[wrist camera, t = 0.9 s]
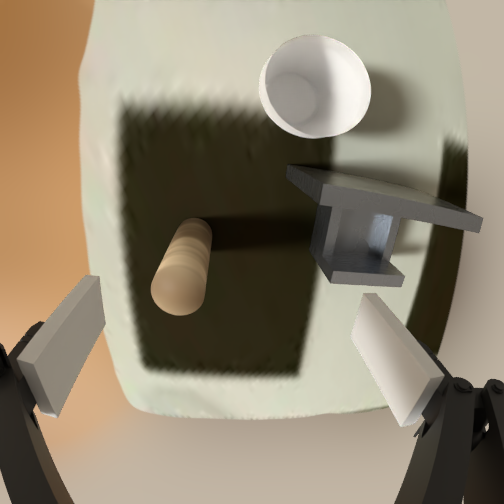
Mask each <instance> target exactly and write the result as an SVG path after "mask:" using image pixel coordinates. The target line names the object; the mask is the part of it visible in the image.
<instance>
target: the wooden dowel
mask: <svg viewBox="0 0 504 504" xmlns="http://www.w3.org/2000/svg"><path fill="white" fill-rule="evenodd" d="M211 243H212V230H211V228H210V226H209V225H208V224H207V223H206V222H205V221H204V220H202V219H199V218H189V219H187V220H185V221H183V222H182V223H181V224H180V225H179V227H178V229H177V231H176V233H175V235H174V237H173V239H172V241H171V243H170V245H169V247H168V249H167V251H166V254H165V256H164V258H163V260H162V262H161V264H160V266H159V268H158V270H157V273H156V275H155V277H154V279H153V281H152V285H151V294H152V297H153V299H154V301H155V303H156V304H157V305H158V306H159V307H160V308H161V309H162V310H164V311H166V312H168V313H170V314H174V315H187V314H190V313H192V312H194V311H196V310H197V309H198V308H199V307H200V306H201V305H202V303H203V300H204V296H205V288H206V280H207V272H208V265H209V257H210V250H211Z"/></svg>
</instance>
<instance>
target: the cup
mask: <svg viewBox="0 0 504 504" xmlns="http://www.w3.org/2000/svg"><path fill="white" fill-rule="evenodd" d="M259 94H260V99H261V102H262V105H263V107H264V110H265V112H266V113H267V115H268V116H269V117H270V118H271V119H272V120H273V121H274V122H275V123H276V124H277V125H278V126H279V127H281V128H282V129H284V130H285V131H287V132H289V133H291V134H294V135H297V136H300V137H305V138H323V137H330V136H336V135H339V134H342V133H345V132H347V131H349V130H350V129H352V128H353V127H354V126H356V125H357V124H358V123H359V122H360V121H361V119H362V118H363V117H364V115H365V113H366V111H367V109H368V106H369V103H370V98H371V84H370V79H369V76H368V73H367V70H366V68H365V66H364V64H363V63H362V61H361V60H360V58H359V57H358V56H357V55H356V54H355V53H354V52H353V51H352V50H351V49H350V48H349V47H347V46H346V45H345V44H343V43H341V42H339V41H338V40H335V39H333V38H330V37H327V36H322V35H303V36H299V37H296V38H293V39H291V40H289V41H287V42H285V43H284V44H283V45H281V46H280V47H279V48H278V49H277V50H276V51H275V52H274V53H273V54H272V55H271V56H270V57H269V59H268V60H267V61H266V63H265V64H264V66H263V69H262V71H261V74H260V79H259Z"/></svg>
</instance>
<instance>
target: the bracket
mask: <svg viewBox="0 0 504 504" xmlns="http://www.w3.org/2000/svg"><path fill="white" fill-rule="evenodd" d="M286 178H287V179H288V180H290V181H291V182H292V183H293V184H295V185H296V186H297V187H298V188H300V189H301V190H302V191H303V192H305V193H306V194H307V195H308V196H310V197H311V198H312V199H313V200H314V201H316V202H317V203H318V207H317V213H316V218H315V223H314V229H313V234H312V239H311V244H310V249H309V251H310V253H311V254H312V256H313V257H314V259H315V260H316V262H317V263H318V265H319V266H320V268H321V269H322V271H323V273H324V274H325V276H326V277H327V279H328V280H329V282H330V283H333V284H350V285H368V286H387V287H402V284H403V281H404V278H405V276H404V275H403V274H402V273H401V272H400V271H399V270H398V269H397V268H396V267H395V266H394V265H392V264H391V263H390V262H389V261H390V258H391V254H392V251H393V247H394V243H395V240H396V236H397V232H398V228H399V224H400V220H401V218H406V219H412V220H417V221H422V222H428V223H433V224H438V225H443V226H448V227H453V228H457V229H462V230H467V231H471V232H476V233H479V232H480V228H481V224H482V221H483V218H482V217H480V216H477V215H475V214H473V213H471V212H469V211H467V210H464V209H462V208H460V207H458V206H455V205H453V204H451V203H448V202H446V201H444V200H441V199H439V198H437V197H434V196H432V195H429V194H427V193H424V192H422V191H419V190H417V189H414V188H410V187H406V186H402V185H397V184H393V183H388V182H384V181H379V180H375V179H370V178H365V177H360V176H355V175H350V174H344V173H339V172H334V171H328V170H322V169H316V168H310V167H304V166H297V165H290V164H288V165H287V172H286Z"/></svg>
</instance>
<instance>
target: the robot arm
mask: <svg viewBox="0 0 504 504" xmlns="http://www.w3.org/2000/svg"><path fill="white" fill-rule="evenodd" d="M105 324H106V322H105V316H104V309H103V302H102V295H101V287H100V278H99V276H92V275H85V276H84V278H82V280H81V281H80V282H79V283H78V284H77V285H76V286H75V287H74V289H73V290H72V291H71V292H70V293H69V294H68V295H67V297H66V298H65V299H64V300H63V301H62V302H61V304H60V305H59V306H58V307H57V308H56V310H55V311H54V312H53V313H52V314H51V315H50V317H49V318H48V319H47V320H46V322H41V321H40V322H38V323H36V324H35V325H33V326H31V328H30V329H29V330H28V331H27V332H26V334H25V336H23V337H22V338H21V340H20V341H19V342H18V343H17V345H16V346H15V347H14V348H13V350H12V351H11V352H10V354H9V355H8V356H7V354H6V351H5V349H4V346H3V345H2V344H1V343H0V470H1V473H2V476H3V480H4V482H5V486H6V488H7V492H8V494H9V497H10V500H11V503H12V504H74V503H73V500H72V499H71V497H70V495H69V493H68V491H67V489H66V487H65V485H64V483H63V481H62V479H61V477H60V475H59V473H58V471H57V469H56V466H55V464H54V462H53V460H52V457H51V455H50V453H49V450H48V448H47V445H46V443H45V441H44V438H43V435H42V432H41V430H40V427H39V424H38V421H37V418H36V415H35V413H34V412H33V409H34V407H35V405H36V403H37V405H38V407H39V409H40V411H41V413H42V414H46V415H49V416H52V417H55V418H58V416H59V414H60V412H61V410H62V408H63V406H64V403H65V401H66V399H67V397H68V395H69V393H70V391H71V388H72V387H73V384H74V383H75V381H76V378H77V377H78V375H79V373H80V371H81V369H82V367H83V365H84V363H85V361H86V359H87V357H88V355H89V353H90V352H91V349H92V348H93V346H94V344H95V342H96V340H97V338H98V337H99V335H100V333H101V331H102V330H103V328H104V326H105ZM350 337H351V339H352V341H353V343H354V344H355V346H356V348H357V350H358V351H359V353H360V355H361V357H362V358H363V360H364V362H365V364H366V365H367V367H368V369H369V371H370V372H371V374H372V376H373V378H374V380H375V381H376V383H377V385H378V387H379V388H380V390H381V392H382V394H383V396H384V398H385V399H386V401H387V403H388V405H389V407H390V408H391V410H392V412H393V414H394V416H395V418H396V419H397V422H398V423H399V425H400V427H404V426H408V425H412V424H415V423H416V421H417V420H418V418H419V417H420V415H421V414H422V415H423V417H424V419H425V420H424V422H423V423H422V425H421V426H420V427H419V429H418V430H417V432H416V433H415V435H414V437H416V436H417V435H418V434H419V435H418V439H417V442H416V446H415V449H414V452H413V455H412V458H411V461H410V464H409V467H408V470H407V473H406V475H405V478H404V481H403V483H402V486H401V488H400V491H399V493H398V496H397V498H396V501H395V503H394V504H462V500H463V495H464V504H504V383H503V382H502V381H500V380H496V379H490V380H488V381H487V383H486V384H485V386H484V388H474V387H473V386H472V384H471V383H470V382H468V381H467V380H465V379H463V378H459V377H454V378H453V377H452V376H451V374H450V373H449V372H448V371H447V370H446V368H445V367H444V366H443V365H442V363H441V362H440V361H439V360H437V359H438V358H437V357H436V356H435V355H434V354H433V352H432V351H431V350H430V349H429V347H428V346H427V345H425V344H424V343H422V342H421V341H419V340H416V339H415V338H414V337H413V336H412V334H411V333H410V332H409V331H408V330H407V329H406V327H405V326H404V325H403V324H402V323H401V321H400V320H399V319H398V318H397V317H396V316H395V314H394V313H393V312H392V311H391V310H390V309H389V308H388V306H387V305H386V304H385V303H384V302H383V301H382V300H381V298H380V297H379V296H378V295H377V294H376V293H363V296H362V300H361V303H360V307H359V310H358V314H357V317H356V320H355V323H354V327H353V330H352V333H351V336H350ZM488 423H489V429H488V431H487V432H486V430H485V426H486V425H487V424H488Z"/></svg>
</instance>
